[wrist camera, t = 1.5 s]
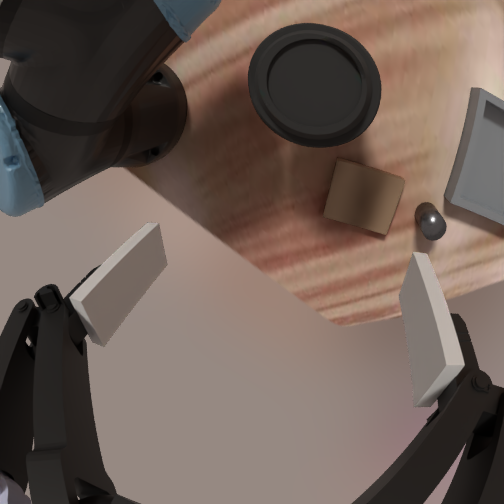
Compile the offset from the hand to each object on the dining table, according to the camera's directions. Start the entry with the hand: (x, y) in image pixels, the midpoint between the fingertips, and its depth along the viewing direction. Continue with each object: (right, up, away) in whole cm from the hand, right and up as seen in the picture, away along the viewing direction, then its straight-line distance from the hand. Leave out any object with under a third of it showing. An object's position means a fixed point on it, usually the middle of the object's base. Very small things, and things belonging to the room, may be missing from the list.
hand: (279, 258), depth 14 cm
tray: (+29, +11, +9) cm, 32 cm away
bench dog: (+20, +5, +16) cm, 26 cm away
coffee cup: (+6, +18, +13) cm, 23 cm away
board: (+12, +7, +18) cm, 22 cm away
